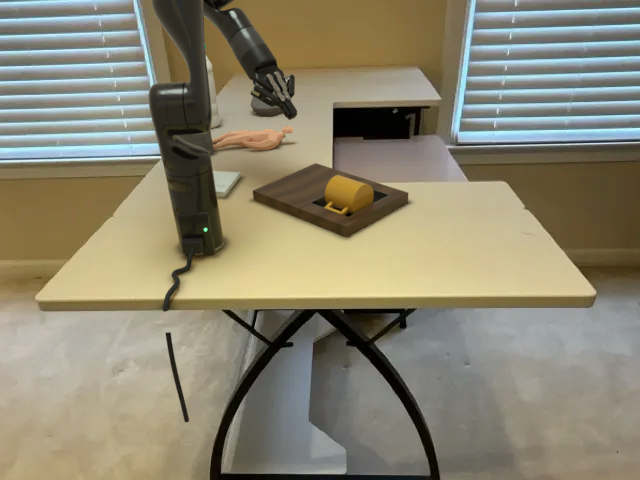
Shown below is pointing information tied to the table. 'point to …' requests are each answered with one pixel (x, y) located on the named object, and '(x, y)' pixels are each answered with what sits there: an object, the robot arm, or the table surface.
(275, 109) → the coffee pot
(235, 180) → the hard drive
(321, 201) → the sink
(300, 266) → the table surface
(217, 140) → the male figurine
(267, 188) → the counter
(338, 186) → the mug
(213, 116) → the water bottle
